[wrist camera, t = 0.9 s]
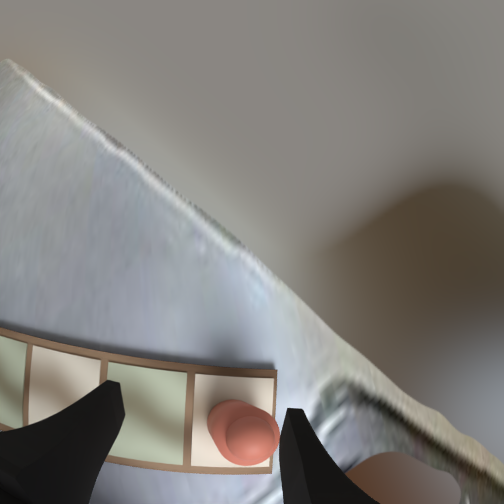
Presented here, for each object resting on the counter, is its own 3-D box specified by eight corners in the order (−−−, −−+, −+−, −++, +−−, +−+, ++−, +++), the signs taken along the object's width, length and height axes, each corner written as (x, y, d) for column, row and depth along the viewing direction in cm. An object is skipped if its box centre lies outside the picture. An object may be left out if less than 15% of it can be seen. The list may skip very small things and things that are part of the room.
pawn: (256, 447, 24) (288, 473, 16) (205, 446, 23) (218, 475, 15) (259, 400, 25) (292, 410, 18) (208, 397, 24) (221, 409, 17)
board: (269, 471, 24) (272, 474, 23) (-28, 414, 18) (-33, 415, 17) (274, 369, 28) (278, 369, 27) (-22, 320, 22) (-27, 318, 21)
